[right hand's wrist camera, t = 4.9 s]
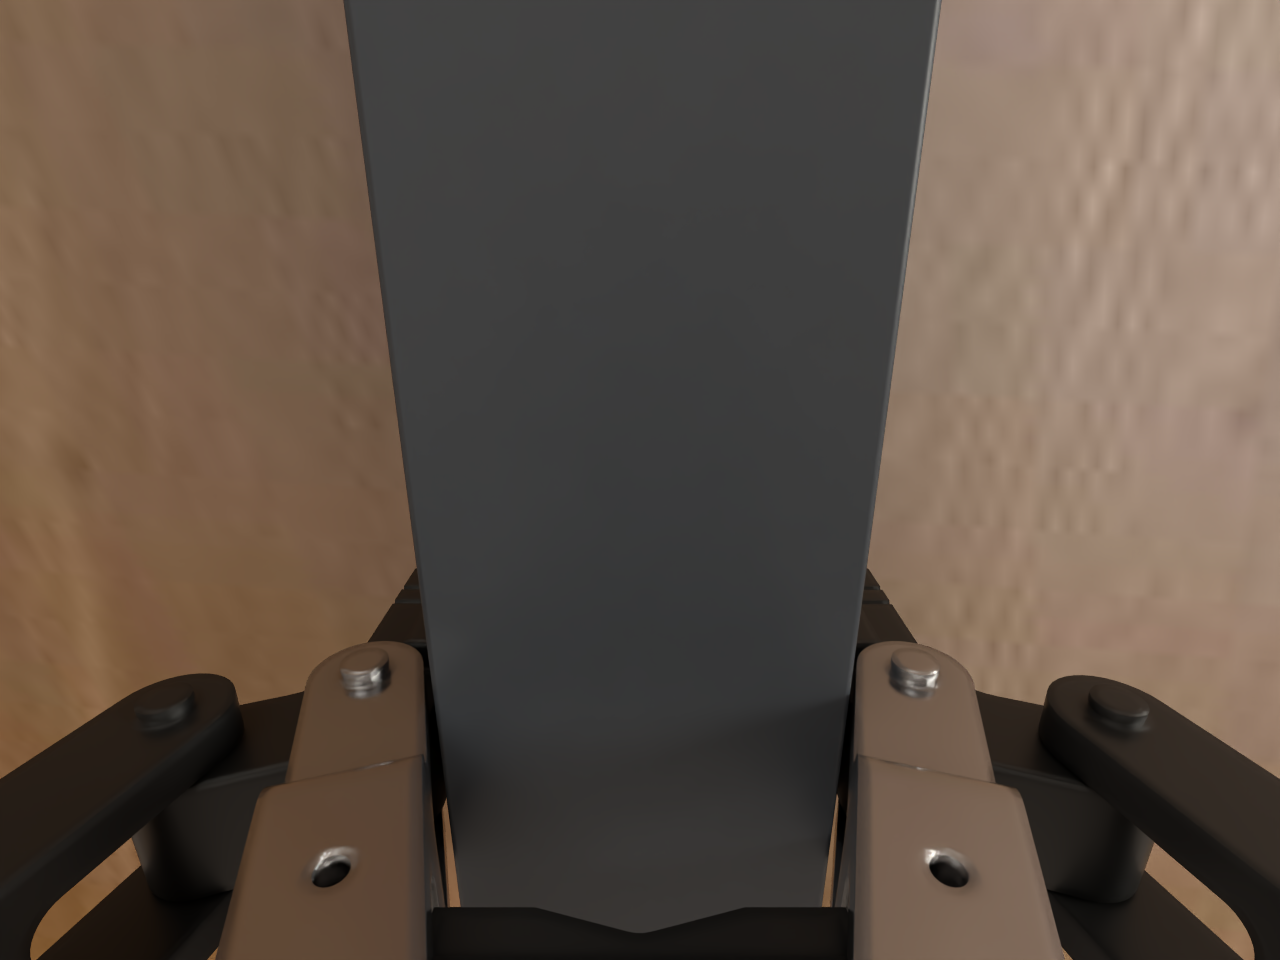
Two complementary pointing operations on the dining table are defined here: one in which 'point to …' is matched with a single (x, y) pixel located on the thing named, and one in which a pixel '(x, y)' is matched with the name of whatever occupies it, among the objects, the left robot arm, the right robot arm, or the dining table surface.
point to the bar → (641, 419)
